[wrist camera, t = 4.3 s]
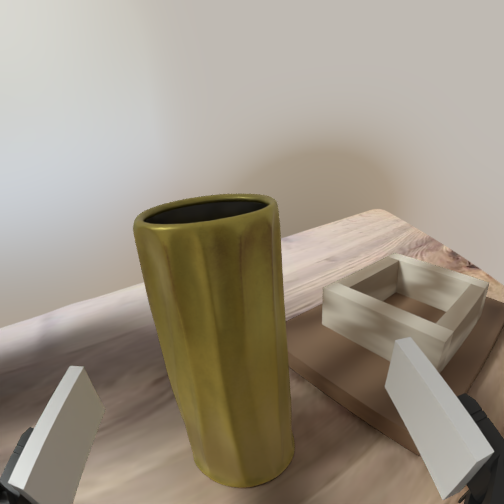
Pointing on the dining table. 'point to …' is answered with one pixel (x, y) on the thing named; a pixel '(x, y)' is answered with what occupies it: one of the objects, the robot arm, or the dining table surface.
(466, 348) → the stand
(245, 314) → the vase
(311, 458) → the dining table surface
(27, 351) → the dining table surface
